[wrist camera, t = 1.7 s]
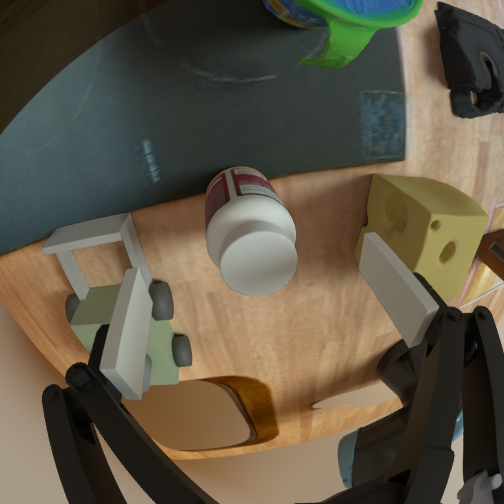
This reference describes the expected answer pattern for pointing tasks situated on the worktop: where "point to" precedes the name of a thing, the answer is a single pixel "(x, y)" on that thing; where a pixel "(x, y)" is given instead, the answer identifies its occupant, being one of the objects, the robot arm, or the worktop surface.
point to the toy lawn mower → (104, 298)
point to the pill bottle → (249, 232)
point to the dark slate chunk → (472, 61)
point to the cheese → (426, 228)
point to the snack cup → (343, 23)
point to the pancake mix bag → (492, 252)
